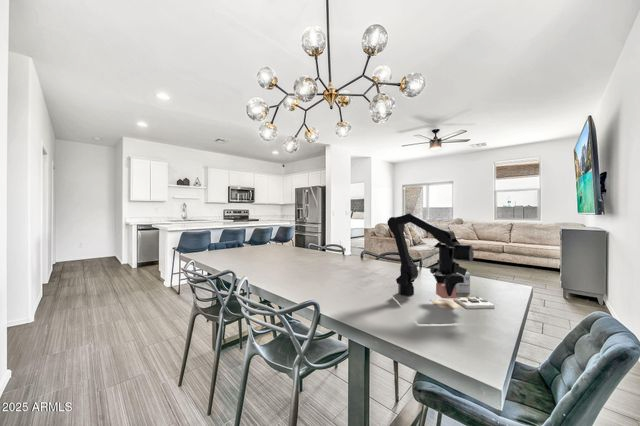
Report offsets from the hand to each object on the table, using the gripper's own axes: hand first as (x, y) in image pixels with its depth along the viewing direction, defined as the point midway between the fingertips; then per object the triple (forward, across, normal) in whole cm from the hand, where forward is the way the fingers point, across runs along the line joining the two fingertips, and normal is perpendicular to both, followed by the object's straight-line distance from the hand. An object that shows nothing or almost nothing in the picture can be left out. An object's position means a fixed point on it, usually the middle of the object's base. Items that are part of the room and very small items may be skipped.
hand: (445, 293), depth 118 cm
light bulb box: (+6, +18, -15) cm, 24 cm away
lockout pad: (+5, 0, 0) cm, 5 cm away
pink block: (+1, 0, 0) cm, 1 cm away
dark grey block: (+5, -1, -12) cm, 13 cm away
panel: (+5, -1, -12) cm, 13 cm away
